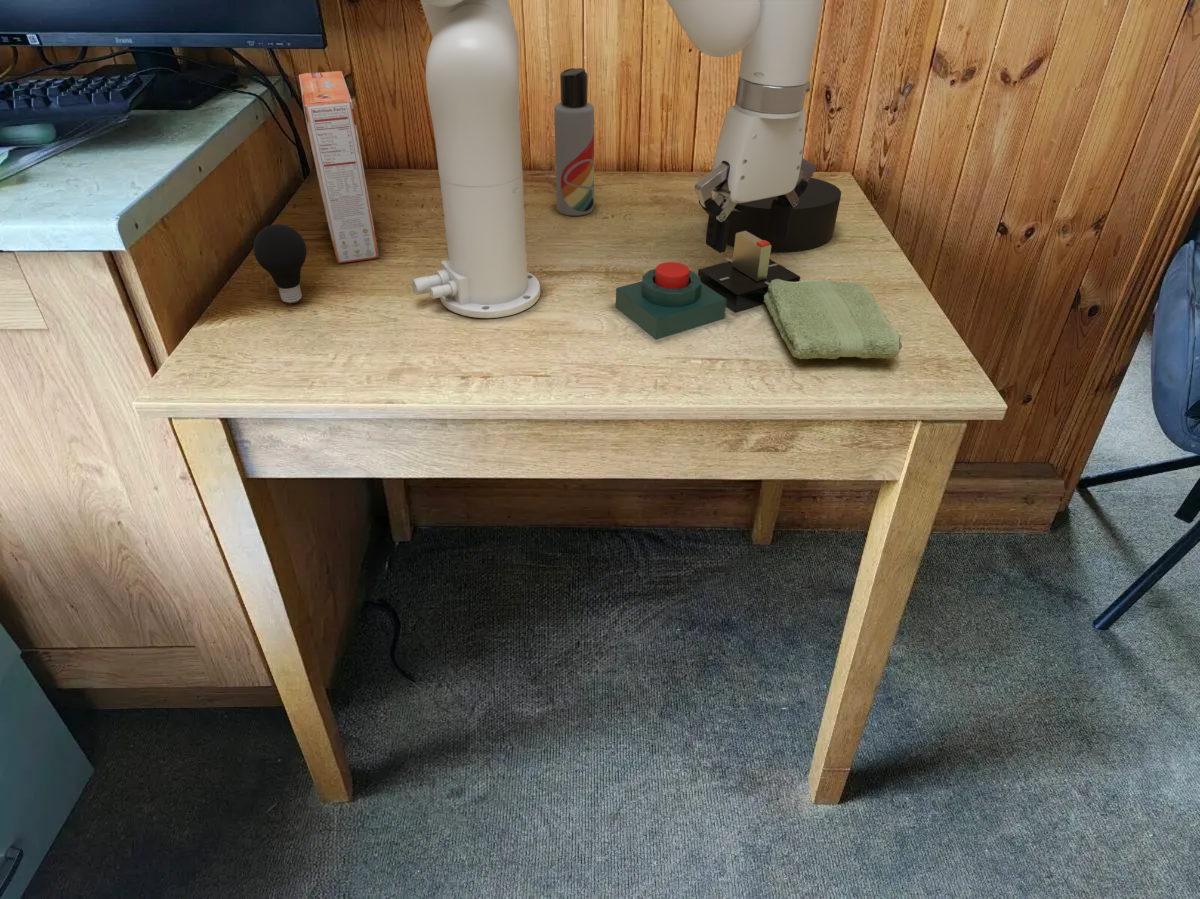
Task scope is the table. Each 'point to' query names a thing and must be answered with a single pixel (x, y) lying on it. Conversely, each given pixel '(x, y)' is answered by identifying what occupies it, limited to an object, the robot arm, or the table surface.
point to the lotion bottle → (574, 145)
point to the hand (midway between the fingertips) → (746, 241)
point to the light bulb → (282, 258)
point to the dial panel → (742, 284)
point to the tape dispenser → (807, 221)
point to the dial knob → (751, 255)
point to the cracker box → (339, 165)
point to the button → (672, 275)
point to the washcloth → (830, 320)
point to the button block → (669, 305)
